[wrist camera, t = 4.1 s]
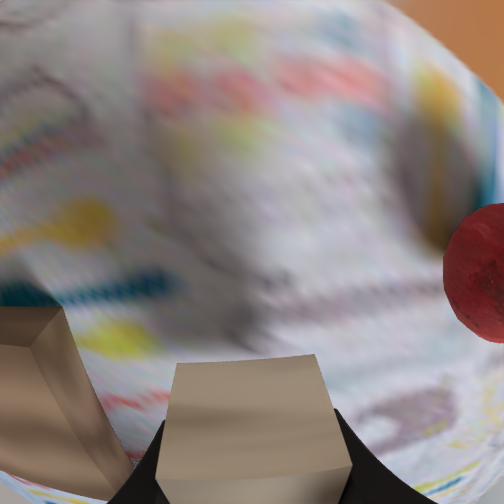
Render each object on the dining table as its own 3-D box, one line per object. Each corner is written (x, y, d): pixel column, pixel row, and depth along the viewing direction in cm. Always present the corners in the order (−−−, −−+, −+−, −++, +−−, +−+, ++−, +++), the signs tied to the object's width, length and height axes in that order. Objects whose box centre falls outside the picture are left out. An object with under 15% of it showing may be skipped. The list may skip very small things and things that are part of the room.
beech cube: (306, 435, 13) (327, 527, 8) (197, 443, 13) (191, 536, 8) (314, 354, 11) (352, 465, 7) (176, 363, 11) (155, 478, 6)
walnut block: (134, 462, 19) (125, 504, 15) (2, 434, 19) (-14, 464, 15) (65, 302, 14) (29, 347, 11) (-70, 300, 14) (-101, 326, 10)
